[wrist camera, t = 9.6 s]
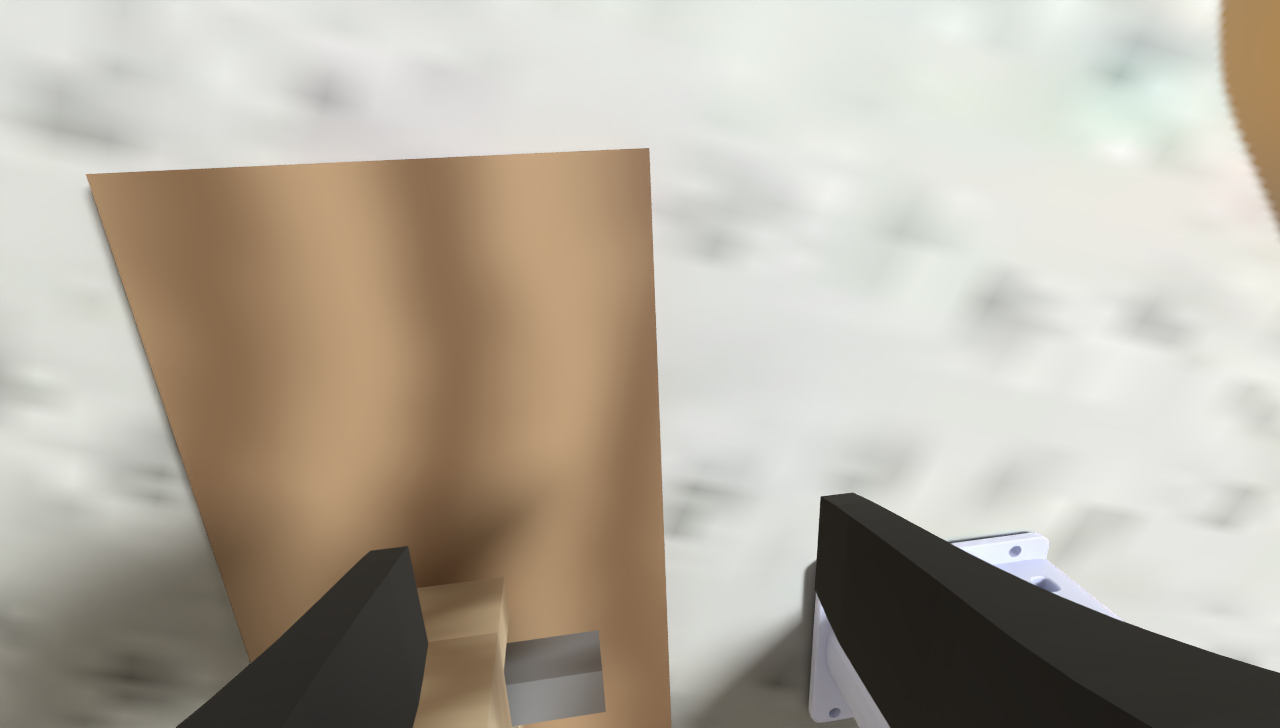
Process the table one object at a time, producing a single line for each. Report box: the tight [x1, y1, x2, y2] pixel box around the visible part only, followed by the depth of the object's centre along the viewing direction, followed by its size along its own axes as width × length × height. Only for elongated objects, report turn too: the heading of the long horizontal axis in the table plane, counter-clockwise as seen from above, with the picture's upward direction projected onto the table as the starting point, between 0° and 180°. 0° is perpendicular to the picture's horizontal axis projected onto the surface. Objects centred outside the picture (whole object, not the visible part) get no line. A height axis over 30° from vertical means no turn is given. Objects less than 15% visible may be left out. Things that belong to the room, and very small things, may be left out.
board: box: [86, 148, 671, 728], centre depth 19 cm, size 14×24×3 cm, turn 3°
